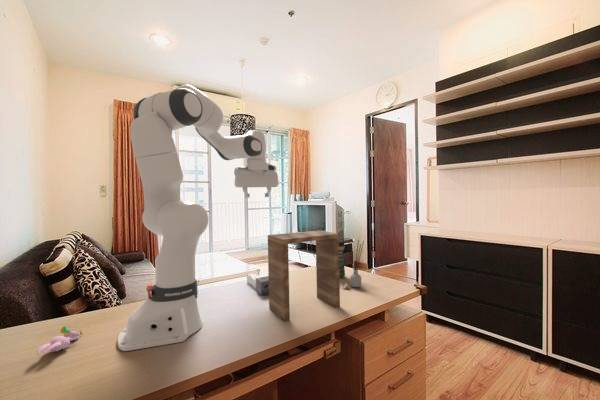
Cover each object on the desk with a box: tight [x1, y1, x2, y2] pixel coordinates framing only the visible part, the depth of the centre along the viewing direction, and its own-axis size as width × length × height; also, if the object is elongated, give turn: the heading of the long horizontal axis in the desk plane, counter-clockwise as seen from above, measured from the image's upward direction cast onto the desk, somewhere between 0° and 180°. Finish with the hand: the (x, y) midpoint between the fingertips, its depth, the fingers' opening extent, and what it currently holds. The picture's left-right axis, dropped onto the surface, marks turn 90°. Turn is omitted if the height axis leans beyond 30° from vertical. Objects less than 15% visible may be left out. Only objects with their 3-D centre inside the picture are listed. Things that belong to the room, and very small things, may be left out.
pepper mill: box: [246, 272, 269, 297], centre depth 123 cm, size 6×21×6 cm, turn 29°
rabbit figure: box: [36, 325, 84, 356], centre depth 77 cm, size 6×6×15 cm
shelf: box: [267, 229, 341, 322], centre depth 101 cm, size 22×12×26 cm, turn 119°
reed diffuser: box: [343, 239, 365, 289], centre depth 121 cm, size 10×7×20 cm
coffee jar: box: [339, 237, 346, 279], centre depth 138 cm, size 10×8×19 cm
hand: (257, 197), depth 131 cm, fingers open, 8 cm apart
